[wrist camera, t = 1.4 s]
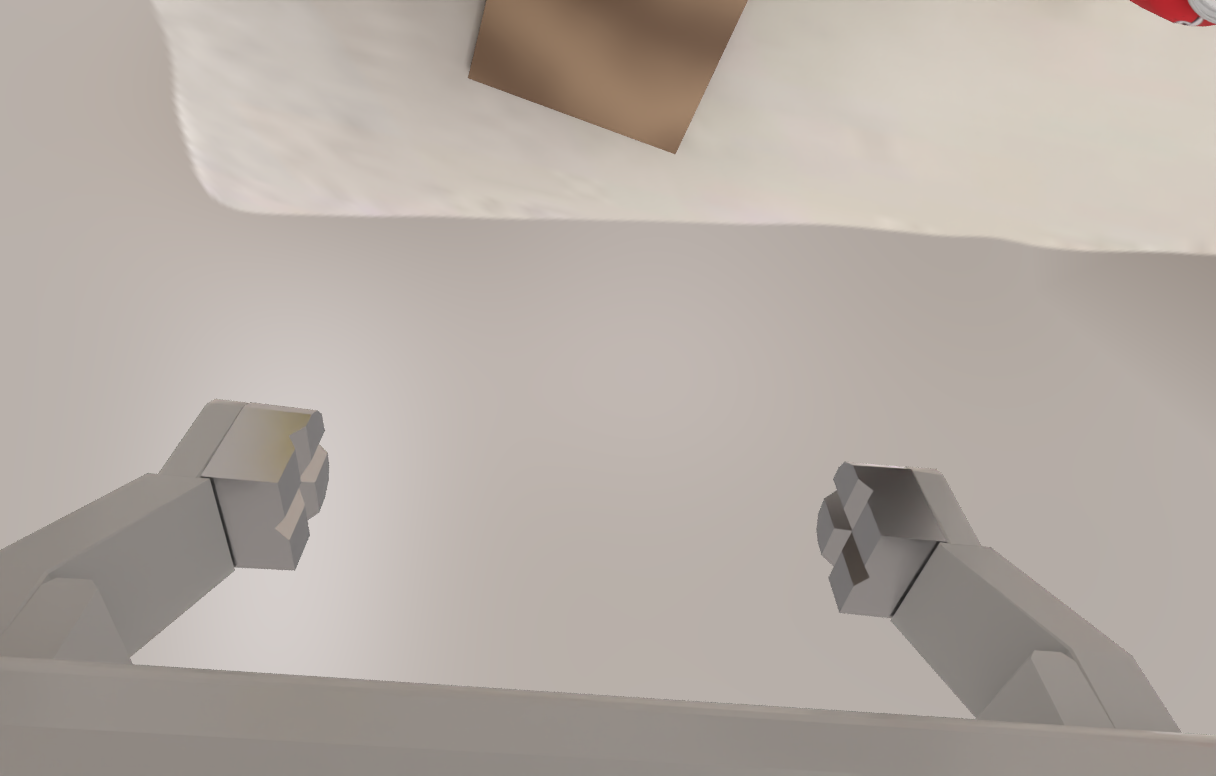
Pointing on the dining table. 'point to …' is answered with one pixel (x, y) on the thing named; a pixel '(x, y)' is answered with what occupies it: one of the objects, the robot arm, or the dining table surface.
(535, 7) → the walnut board
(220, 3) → the dining table surface
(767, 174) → the dining table surface
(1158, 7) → the soda can
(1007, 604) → the robot arm
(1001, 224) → the dining table surface
